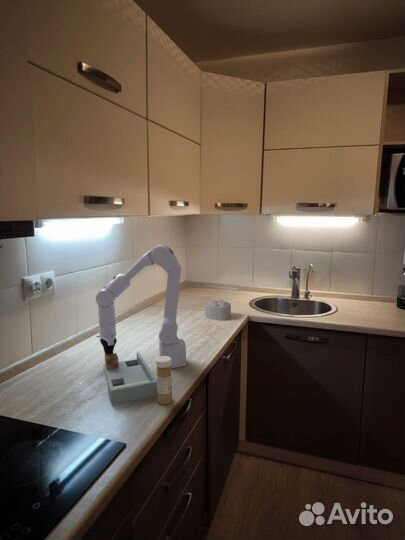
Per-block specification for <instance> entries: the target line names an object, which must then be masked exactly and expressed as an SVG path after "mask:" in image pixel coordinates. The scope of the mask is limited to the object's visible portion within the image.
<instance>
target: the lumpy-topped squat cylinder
mask: <svg viewBox="0 0 405 540" xmlns="http://www.w3.org/2000/svg"><path fill="white" fill-rule="evenodd" d="M231 306H232V305H231V303H230V302H228V301H224V300H223V299H218V300H216V299H212V300H210V301H207V302H206V303H205V318H206V319H208V320H212V321H218V322H219V321H220V322H222V321H223V322H224V321H228V320H229V319H230V318H231V316H232V311H231V310H232V307H231Z"/></svg>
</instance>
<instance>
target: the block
mask: <svg viewBox="0 0 405 540" xmlns="http://www.w3.org/2000/svg"><path fill="white" fill-rule="evenodd" d="M118 362H119V356H118V354H117V352H113V354H106V355H105V354H104V364H105V366H106V369H107V370H110V369H116V368H119V367H118Z"/></svg>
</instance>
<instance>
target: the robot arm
mask: <svg viewBox="0 0 405 540" xmlns="http://www.w3.org/2000/svg"><path fill="white" fill-rule="evenodd" d="M154 265H156V266H158V267H160V268H162V269H163V270H164V271H165V272H166V273H167V280H166V289H165V302H164V312H163V321H162V324H161V325H160V326H161V327H160V330H159V332H158V349H159V350H158V351H159V354H158V357H160V356H169V357H171V359H172V366H171V369H176V368H180V367H186V366H187V347H186V346H187V345H186V342H185V340H184V339H183V338H179V337H178V330H179V325H178V324H177V314H178V304H179V295H180V285H181V284H180V283H181V276H182V266H181V264H180V262H179V261H178V259H177V256H176V255H175V252H174V251H173V249H171V248H170V246H169V245H167V244H164V243H159V244H157V245H156V246H155V247H154V248H152V249H150V250H149V251H147V252H146V253H145V254H143V255H142V256H141V257H140V258H139V259H137V261H136V262H135V263H134V264H132V266H131V267H130V268H128V269H127V271H126V272H125V273H118V274H114V275H113V277H112V280H111V281H110V282H108V283H107V284H105V285H103V288H102V289H101V290H99V291H98V292H97V294H96V296H95V302H96V304H97V307H98V310H97V311H98V314H97V316H98V328H99V332H98V333H96V336H95V338H99V342H100V344H101V345H102V348H103V352H104V356H105V355H106V354H113V353H114V350H115V346H116V345H117V342H118V341H117V337H116V336H117V328H116V327H117V326H116V310H115V301H116V298H119V297H120V296H121V295H122V294H123V293H124V292H125V291H126V290H127V289H128V288H129V287H130V286H131V280H133V279H134V278H135V277H136V276H137V275H138V274H139V273H141V271H142V270H144V269H146V267H151V266H154Z"/></svg>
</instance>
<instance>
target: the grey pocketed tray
mask: <svg viewBox="0 0 405 540" xmlns="http://www.w3.org/2000/svg"><path fill="white" fill-rule="evenodd" d="M102 366H103V367H102V368H103V372H104V374H105V378H106V382H107V394H108V398H109V401H110V404H111V406H113V405H119V404H123V403H128V402H133V401H138V400H142V399H147V398H151V397H158V391H157V377H155V375H154V374H153V372H152V370H151V369H150V367H149V366H148V364H147V362H146V361H145V359H144V357H143V356H142V354H141V352H139V351H137V352H136V358H135V359H130V360H123V361H118V367H119V368H116V369H110V370H107V369H106V366H105V363H104V364H103V365H102Z"/></svg>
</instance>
